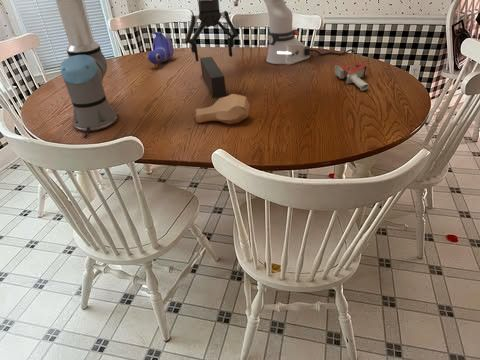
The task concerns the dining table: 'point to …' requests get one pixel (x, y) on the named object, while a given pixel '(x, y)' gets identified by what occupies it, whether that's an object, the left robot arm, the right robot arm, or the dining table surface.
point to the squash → (225, 110)
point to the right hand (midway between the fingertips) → (225, 7)
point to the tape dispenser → (353, 74)
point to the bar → (213, 77)
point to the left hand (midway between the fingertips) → (214, 58)
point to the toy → (161, 49)
